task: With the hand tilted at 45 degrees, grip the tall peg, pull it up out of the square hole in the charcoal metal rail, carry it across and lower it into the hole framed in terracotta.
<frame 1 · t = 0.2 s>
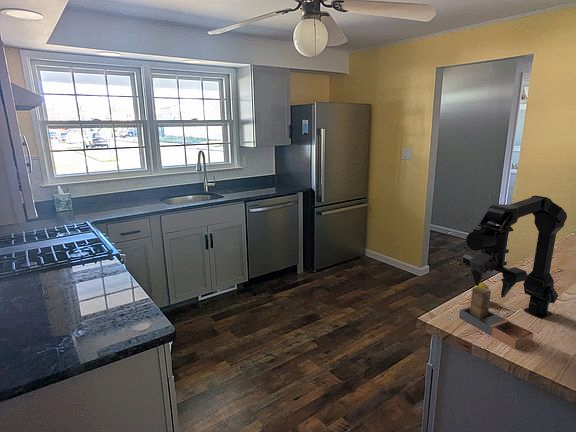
hand: (489, 291, 117), 15 cm above the worktop, tool pointing down, fingers open, 9 cm apart
rail: (493, 328, 122), on the worktop
lemon: (479, 301, 140), on the worktop
peg: (477, 320, 127), resting in rail
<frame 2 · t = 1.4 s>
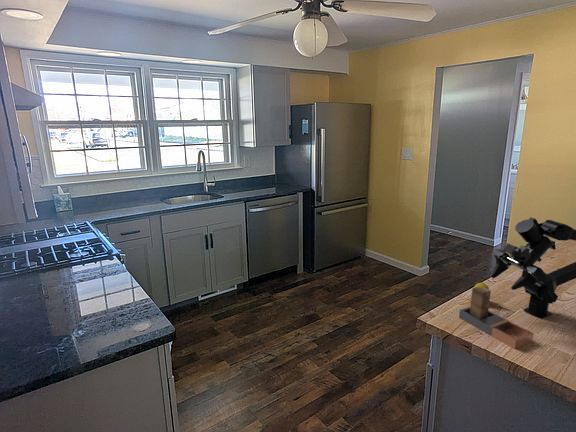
hand: (501, 283, 125), 13 cm above the worktop, tool tilted 45°, fingers open, 9 cm apart
nothing on the worktop moved.
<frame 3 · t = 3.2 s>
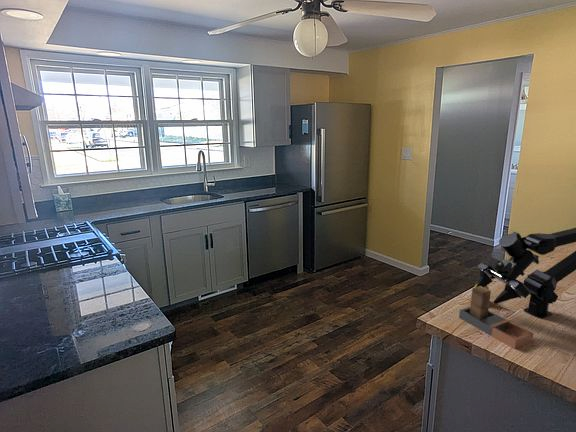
hand: (484, 296, 125), 9 cm above the worktop, tool tilted 45°, fingers open, 9 cm apart
nothing on the worktop moved.
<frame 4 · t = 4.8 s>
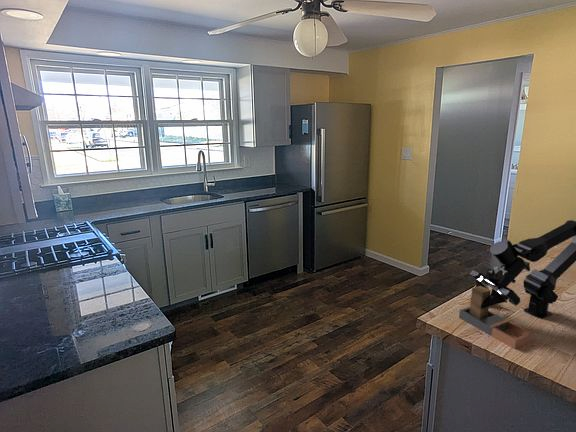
hand: (476, 303, 125), 7 cm above the worktop, tool tilted 45°, fingers closed on peg, 5 cm apart
peg: (477, 320, 127), resting in rail, touching gripper
everything else where it was.
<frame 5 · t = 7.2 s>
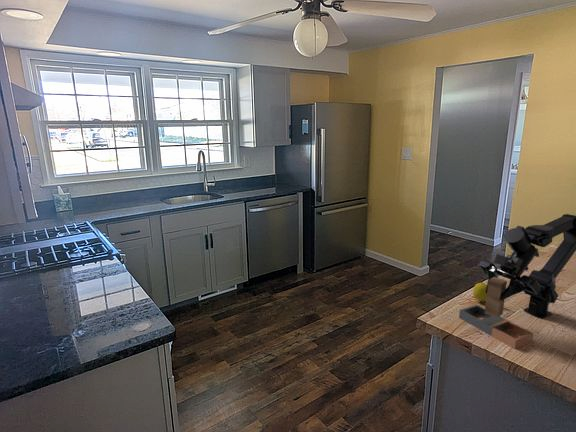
hand: (493, 296, 118), 12 cm above the worktop, tool tilted 45°, fingers closed on peg, 5 cm apart
peg: (493, 313, 120), point 6 cm above the worktop, touching gripper
everything else where it was.
when the fingers open (7 cm above the worktop, at t = 10.0 s): peg stays where it is, resting in rail.
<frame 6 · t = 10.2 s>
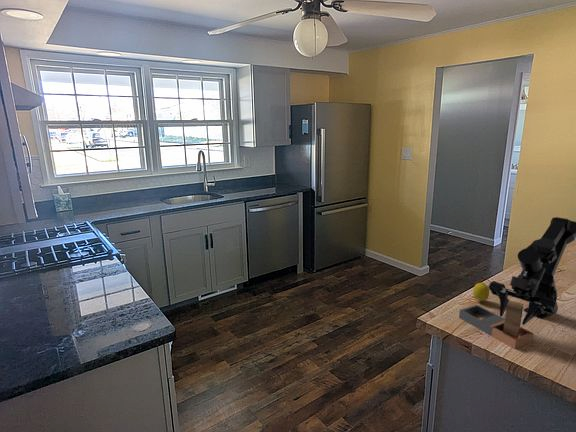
hand: (511, 320, 114), 7 cm above the worktop, tool tilted 45°, fingers open, 6 cm apart
peg: (510, 337, 117), resting in rail
everything else where it was.
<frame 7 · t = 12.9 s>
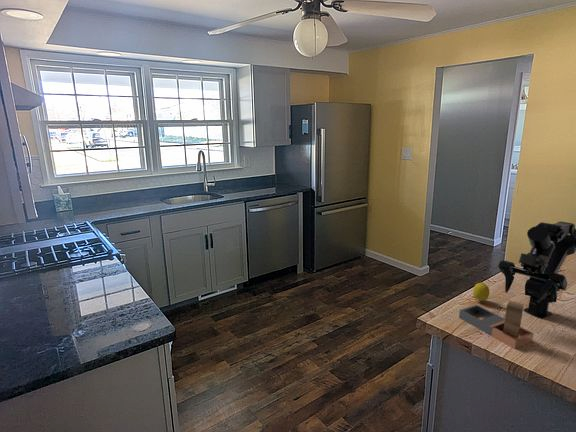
hand: (521, 296, 116), 13 cm above the worktop, tool tilted 45°, fingers open, 9 cm apart
nothing on the worktop moved.
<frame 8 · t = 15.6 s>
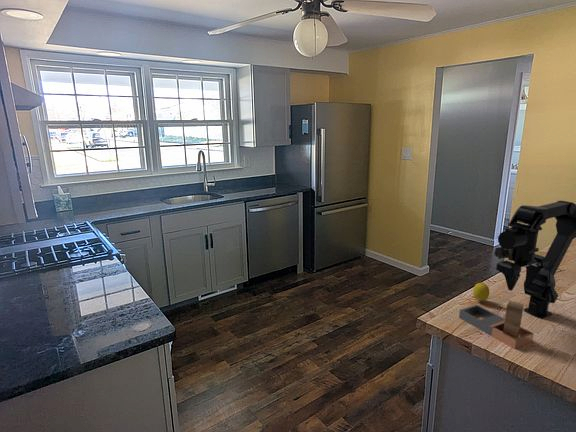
hand: (519, 287, 123), 13 cm above the worktop, tool pointing down, fingers open, 9 cm apart
nothing on the worktop moved.
at the end: peg 0.1 cm from the target spot on the rail, point 0.0 cm above the rail's base; peg tilted 0°; the gripper is holding nothing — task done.
